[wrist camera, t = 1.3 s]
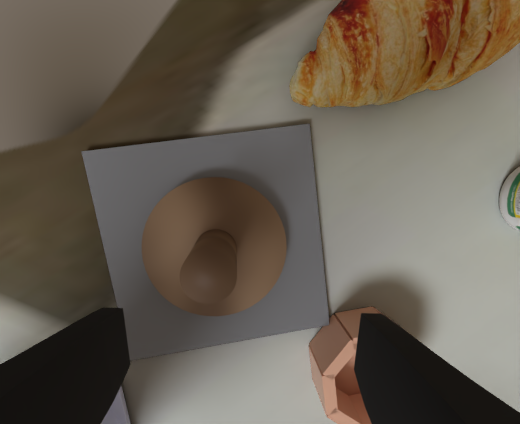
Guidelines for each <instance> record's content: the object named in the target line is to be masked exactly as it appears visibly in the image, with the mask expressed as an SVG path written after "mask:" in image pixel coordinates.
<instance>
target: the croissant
mask: <svg viewBox="0 0 520 424" xmlns="http://www.w3.org/2000/svg"><path fill="white" fill-rule="evenodd" d="M519 42H520V0H342V1H341V2H340V3H339V4H338V5H337V6H336V7H335V8H334V10H333V11H332V12H331V13H330V14H329V15H328V18H327V20H326V22H325V24H324V27H323V31H322V32H321V34H320V35H319V37H318V39H317V48H316V50H315V51H310V52H309V53H308V54H306V55H305V56H304V57H303V58H302V59H301V61H300V62H298V67H297V69H296V71H295V73H294V75H293V76H292V79H291V81H290V86H289V87H290V93H291V98H292V100H293V101H294V102H296V103H299V104H301V105H304V106H308V107H311V106H312V105H313V104H314V105H315V106H316V107H334V106H348V107H359V106H362V105H369V104H375V105H382V104H387V103H391V102H397V101H400V100H403V99H404V98H406V97H407V96H409V95H412V94H414V93H417V92H421V91H424V90H425V89H427V88H428V89H430V90H438V89H443V88H447V87H450V86H452V85H454V84H456V83H458V82H460V81H462V80H464V79H466V78H468V77H469V76H471V75H472V74H474V73H476V72H478V71H479V70H482V69H485V68H486V67H488V66H489V65H491V64H492V63H493V62H495V61H496V60H498V59H499V58H501V57H502V56H503V55H505V54H506V53H508V52H509V51H510V50H511V49H512V48H514V47H515V46H516V45H517V44H518V43H519Z"/></svg>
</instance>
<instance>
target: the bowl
mask: <svg viewBox="0 0 520 424" xmlns="http://www.w3.org/2000/svg"><path fill="white" fill-rule="evenodd" d="M361 313H381V312H380V311H379V310H377V309H376V308H374V307H372V306H371V307H366V308H360V309H354V310H349V311H343V312H337V313H335V315H332V316H331V317H330V318H329V325H327V326H323V327H322V328H321V330H320V331H319V332H318V333H317V335H316V336H315V337H314V338H313V339H312V341H311V342H310V343H309V344H310V345H309V353H310V362H311V371H312V379H313V382H314V385H315V387H316V390H317V392H318V395H319V398H320V400H321V403H322V406H323V408H324V411H325V414H326V415H327V417H328V418H329V419H331V420H333V421H334V422H336V423H337V424H372V423H371V421H370V419H369V416H368V413H367V411H366V408H365V406H364V402H363V399H362V396H361V392H360V389H359V386H358V382H357V378H356V375H355V371H354V363H355V356H356V348H357V340H358V333H359V325H360V317H361ZM381 314H383V313H381ZM383 315H384V314H383ZM384 316H385V315H384ZM386 317H387V316H386ZM387 318H388V317H387ZM390 320H391V319H390ZM394 323H395V322H394ZM398 326H399V325H398Z"/></svg>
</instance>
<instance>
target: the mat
mask: <svg viewBox="0 0 520 424" xmlns="http://www.w3.org/2000/svg"><path fill="white" fill-rule="evenodd" d="M82 155H83V160H84V164H85V168H86V173H87V177H88V181H89V186H90V190H91V194H92V199H93V203H94V207H95V212H96V216H97V220H98V225H99V229H100V233H101V238H102V242H103V246H104V251H105V255H106V259H107V264H108V268H109V272H110V277H111V281H112V285H113V290H114V294H115V298H116V303H117V307H118V308H123V312H124V319H125V327H126V334H127V342H128V349H129V357H130V361H132V360H137V359H143V358H148V357H154V356H160V355H165V354H171V353H176V352H182V351H187V350H193V349H199V348H204V347H210V346H215V345H221V344H226V343H232V342H238V341H243V340H249V339H254V338H260V337H265V336H271V335H277V334H282V333H288V332H293V331H299V330H304V329H310V328H316V327H321V326H327V325H329V314H328V304H327V294H326V284H325V274H324V264H323V253H322V243H321V233H320V223H319V213H318V203H317V193H316V183H315V173H314V163H313V153H312V143H311V133H310V124H303V125H294V126H286V127H278V128H270V129H262V130H253V131H245V132H237V133H229V134H221V135H213V136H204V137H196V138H188V139H180V140H172V141H164V142H155V143H147V144H139V145H131V146H123V147H115V148H106V149H98V150H90V151H82ZM208 177H222V178H229V179H234V180H237V181H240V182H243V183H245V184H247V185H249V186H251V187H252V188H254V189H255V190H257V191H258V192H260V193H261V194H262V195H263V196H264V197H265V198H266V199H267V200H268V201H269V202H270V203H271V204H272V205H273V207H274V208H275V210H276V211H277V213H278V215H279V217H280V219H281V221H282V224H283V227H284V230H285V235H286V245H287V249H286V258H285V263H284V267H283V269H282V272H281V275H280V276H279V278H278V280H277V282H276V284H275V285H274V286H273V288H272V289H271V290H270V291H269V293H268V294H267V295H266V296H265V297H264V298H262V299H261V300H260V301H259V302H257V303H256V304H254V305H253V306H251V307H249V308H247V309H245V310H243V311H240V312H238V313H235V314H230V315H225V316H203V315H197V314H193V313H190V312H187V311H185V310H182V309H180V308H179V307H177V306H175V305H173V304H172V303H171V302H169V301H168V300H167V299H165V298H164V297H163V296H162V295H161V294H160V293H159V292H158V290H157V289H156V288H155V287H154V285H153V284H152V282H151V280H150V279H149V277H148V274H147V272H146V270H145V266H144V263H143V258H142V236H143V231H144V228H145V224H146V222H147V220H148V217H149V215H150V213H151V212H152V210H153V209H154V207H155V206H156V205H157V204H158V202H159V201H160V200H161V199H162V198H163V197H164V196H165V195H166V194H168V193H169V192H170V191H172V190H173V189H175V188H176V187H178V186H180V185H182V184H184V183H186V182H189V181H192V180H196V179H201V178H208Z"/></svg>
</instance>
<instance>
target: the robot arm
mask: <svg viewBox="0 0 520 424" xmlns="http://www.w3.org/2000/svg"><path fill="white" fill-rule="evenodd" d="M129 366H130V357H129V349H128V342H127V334H126V327H125V319H124V312H123V308H101V309H99V310H97V311H95V312H93V313H91V314H89V315H88V316H86V317H84V318H82V319H80V320H78V321H77V322H75V323H73V324H71V325H70V326H68V327H66V328H64V329H63V330H61V331H59V332H57V333H56V334H54V335H52V336H50V337H49V338H47V339H45V340H43V341H41V342H40V343H38V344H36V345H34V346H33V347H31V348H29V349H27V350H26V351H24V352H22V353H20V354H19V355H17V356H15V357H13V358H11V359H10V360H8V361H6V362H4V363H2V364H0V424H131V423H130V419H129V415H128V411H127V407H126V402H125V398H124V394H123V390H122V386H121V384H122V382H123V380H124V378H125V375H126V373H127V371H128V368H129ZM354 371H355V375H356V378H357V382H358V386H359V389H360V392H361V396H362V399H363V402H364V406H365V408H366V411H367V413H368V416H369V419H370V421H371V423H372V424H520V413H519V412H518V411H516V410H515V409H513V408H512V407H510V406H509V405H507V404H506V403H504V402H503V401H501V400H500V399H499V398H497V397H496V396H494V395H493V394H491V393H490V392H488V391H487V390H485V389H484V388H483V387H481V386H480V385H478V384H477V383H475V382H474V381H473V380H471V379H470V378H468V377H467V376H465V375H464V374H463V373H461V372H460V371H459V370H457V369H456V368H454V367H453V366H452V365H450V364H449V363H448V362H446V361H445V360H444V359H442V358H441V357H439V356H438V355H437V354H435V353H434V352H433V351H431V350H430V349H429V348H427V347H426V346H425V345H423V344H422V343H421V342H420V341H418V340H417V339H416V338H414V337H413V336H412V335H410V334H409V333H408V332H406V331H405V330H404V329H402V328H401V327H400V326H398V325H397V324H396V323H394V322H393V321H392V320H390V319H389V318H387V317H386V316H384V315H383V314H381V313H361V317H360V325H359V333H358V340H357V348H356V356H355V363H354Z"/></svg>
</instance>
